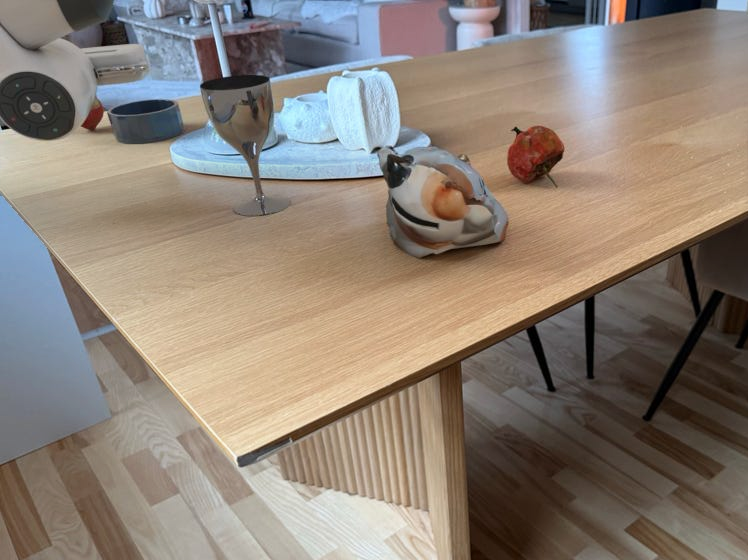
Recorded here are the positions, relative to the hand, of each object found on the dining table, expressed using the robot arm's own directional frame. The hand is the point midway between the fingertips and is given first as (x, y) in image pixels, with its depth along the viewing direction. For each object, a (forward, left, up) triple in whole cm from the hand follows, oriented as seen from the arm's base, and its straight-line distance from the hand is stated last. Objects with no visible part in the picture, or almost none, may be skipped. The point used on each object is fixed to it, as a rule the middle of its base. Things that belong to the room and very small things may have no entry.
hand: (67, 58), depth 94 cm
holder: (+6, +20, -16) cm, 26 cm away
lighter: (0, -1, -6) cm, 6 cm away
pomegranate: (+55, -32, -16) cm, 65 cm away
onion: (-4, +28, -16) cm, 33 cm away
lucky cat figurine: (+38, -46, -16) cm, 62 cm away
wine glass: (+20, -24, -16) cm, 35 cm away
